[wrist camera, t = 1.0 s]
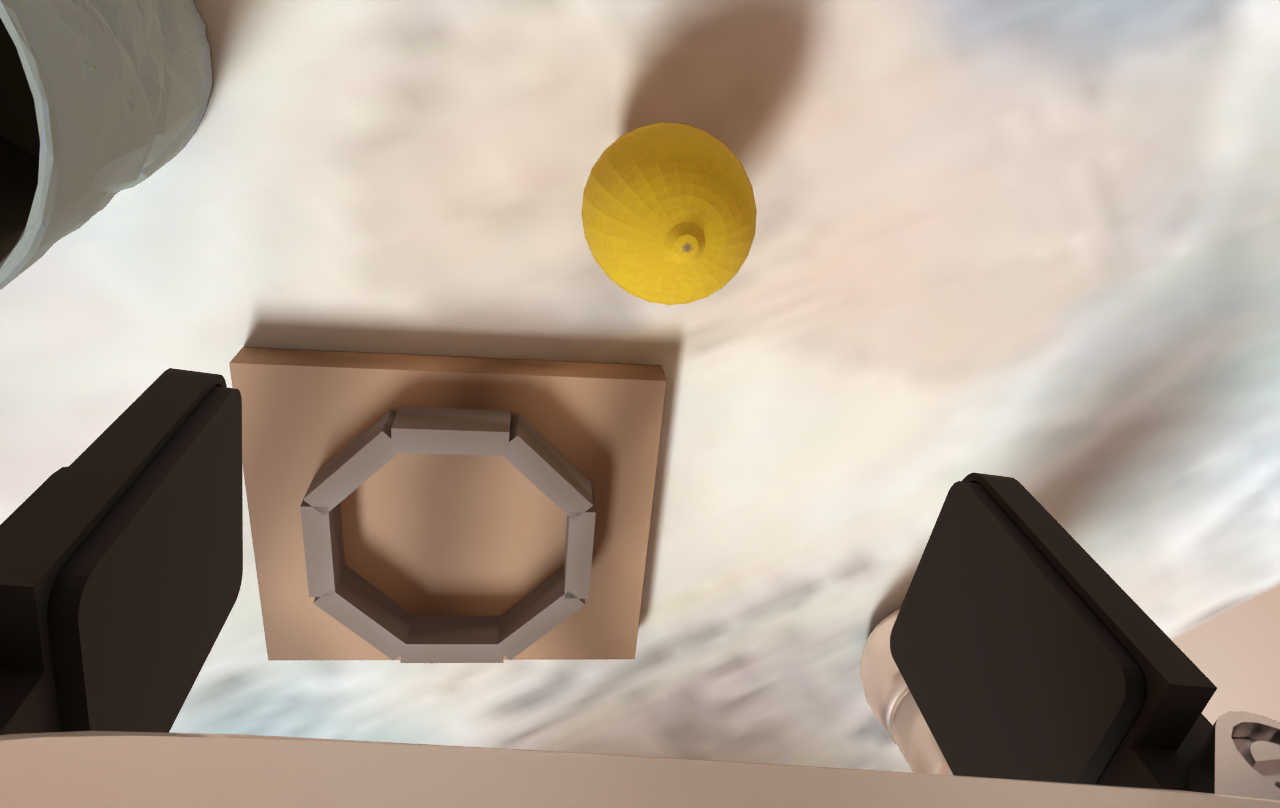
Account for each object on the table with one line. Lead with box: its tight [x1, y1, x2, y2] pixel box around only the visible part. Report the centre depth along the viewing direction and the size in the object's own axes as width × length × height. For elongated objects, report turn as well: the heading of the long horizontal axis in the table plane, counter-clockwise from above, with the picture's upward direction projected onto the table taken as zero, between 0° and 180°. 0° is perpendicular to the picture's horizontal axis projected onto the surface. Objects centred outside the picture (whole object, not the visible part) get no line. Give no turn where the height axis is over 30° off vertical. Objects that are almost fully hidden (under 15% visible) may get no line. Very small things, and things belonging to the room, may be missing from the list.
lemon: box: [582, 122, 756, 305], centre depth 27 cm, size 6×6×8 cm
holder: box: [230, 347, 666, 663], centre depth 34 cm, size 16×14×3 cm
